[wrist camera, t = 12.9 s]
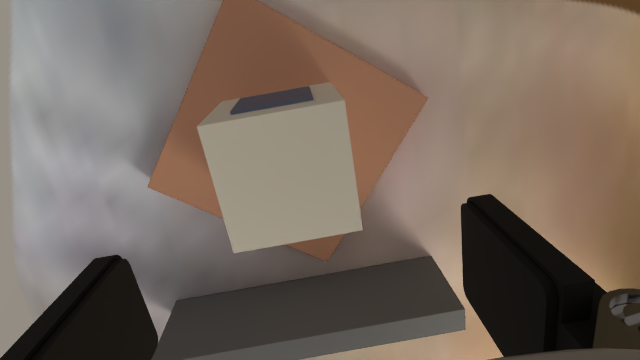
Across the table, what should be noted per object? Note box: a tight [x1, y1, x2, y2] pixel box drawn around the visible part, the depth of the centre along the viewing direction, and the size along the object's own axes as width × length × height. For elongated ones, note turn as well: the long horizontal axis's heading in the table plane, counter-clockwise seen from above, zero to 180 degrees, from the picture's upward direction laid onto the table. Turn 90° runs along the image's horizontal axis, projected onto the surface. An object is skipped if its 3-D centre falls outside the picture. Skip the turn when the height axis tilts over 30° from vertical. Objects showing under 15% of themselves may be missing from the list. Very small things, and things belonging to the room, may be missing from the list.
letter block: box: [197, 82, 363, 253], centre depth 19 cm, size 6×6×6 cm
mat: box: [148, 0, 428, 262], centre depth 22 cm, size 12×12×1 cm
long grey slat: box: [151, 256, 465, 360], centre depth 24 cm, size 18×2×6 cm, turn 99°
